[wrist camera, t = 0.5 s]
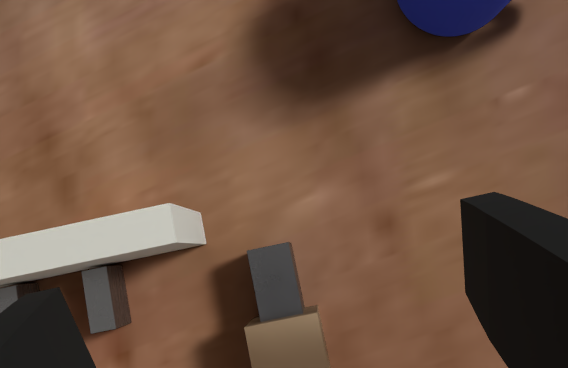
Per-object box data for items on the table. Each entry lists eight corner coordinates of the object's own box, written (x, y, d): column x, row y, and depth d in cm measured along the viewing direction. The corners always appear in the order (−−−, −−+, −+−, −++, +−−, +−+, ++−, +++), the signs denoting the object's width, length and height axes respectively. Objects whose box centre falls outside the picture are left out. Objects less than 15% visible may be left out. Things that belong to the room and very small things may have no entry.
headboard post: (217, 305, 33) (190, 319, 26) (-61, 362, 34) (-161, 391, 27) (200, 212, 34) (169, 203, 27) (-72, 270, 34) (-171, 275, 27)
